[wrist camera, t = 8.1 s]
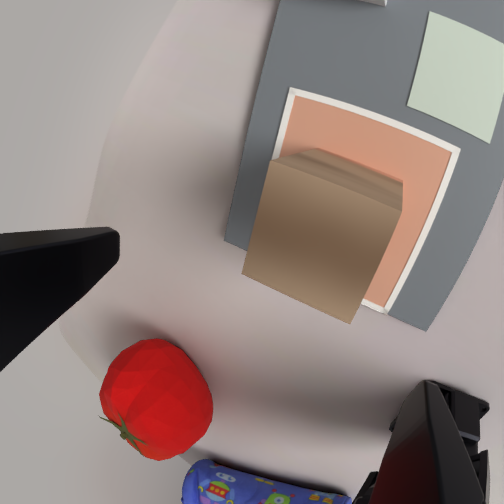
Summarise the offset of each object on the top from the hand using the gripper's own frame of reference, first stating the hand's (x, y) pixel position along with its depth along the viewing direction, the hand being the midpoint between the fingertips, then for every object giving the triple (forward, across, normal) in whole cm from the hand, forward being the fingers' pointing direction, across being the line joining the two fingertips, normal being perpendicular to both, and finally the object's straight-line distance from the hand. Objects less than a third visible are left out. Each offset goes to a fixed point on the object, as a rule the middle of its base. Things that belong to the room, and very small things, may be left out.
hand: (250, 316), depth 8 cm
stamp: (+12, 0, 0) cm, 12 cm away
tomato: (+13, +9, +23) cm, 28 cm away
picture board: (+13, -1, -6) cm, 14 cm away
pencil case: (+13, -6, +36) cm, 39 cm away
